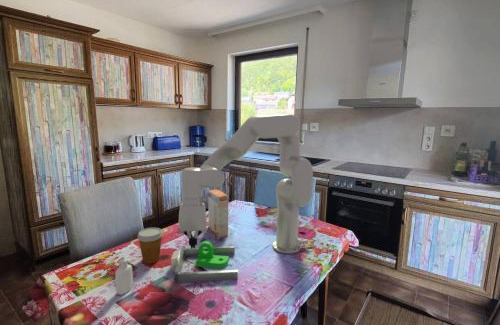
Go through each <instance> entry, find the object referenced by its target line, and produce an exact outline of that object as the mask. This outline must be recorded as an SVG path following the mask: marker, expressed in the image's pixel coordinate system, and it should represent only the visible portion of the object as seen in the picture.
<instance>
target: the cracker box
mask: <svg viewBox="0 0 500 325" xmlns="http://www.w3.org/2000/svg"><path fill="white" fill-rule="evenodd" d="M207 199H208V229H209V230H210V232H212V234H214V236H215V237H216V238H218V239H219V238H225V237H229V236H228V235H229V195H228V194H226V193H224V192H223V191H221V190H220V189H219V188H218V189H210V190H208V198H207Z"/></svg>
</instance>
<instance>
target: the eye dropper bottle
mask: <svg viewBox="0 0 500 325" xmlns="http://www.w3.org/2000/svg"><path fill="white" fill-rule="evenodd" d="M118 264H119V265H118V268H117V270H116V271H115V276H114V277H115V292H116V294H117V295H120V296H123V295H125V294H127V293H128V292H129V291H130V290H132V288H133V286H134V278H133V267H132V265H131V264H128V259H127V258H125V255H122V256H121V259H119V261H118Z"/></svg>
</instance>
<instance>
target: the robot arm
mask: <svg viewBox="0 0 500 325" xmlns="http://www.w3.org/2000/svg"><path fill="white" fill-rule="evenodd" d="M300 129H301V121H300V118H298V116H296V115H294V114H292V113H291V114H286V113H285V114H273V115H265V114H264V115H252V116H250V117H248V118H247V119H246V120H245V121H244V122H242V124H241V126H240V127H239V128H238V130H236V132H235V133H233V134H232V136H231V137H230V139H228V140H227V141H226V142H225V143H224V144H222V145H221V146H220V147H219V148H218V149H216V150H215V151H214V152H212V154H210V156H208V158H206V160H205V161H204V162H203V163H202V164H201V166H200V168H199V167H193V166H192V167H186V168H183V169H181V175H180V176H181V178H180V179H181V203H180V205H179V212H178V233H179V234H181V235H184V236H186V238H188V246H190V248H191V249H192V248H196V246H198V238H199V236H200V235H201V234H204V233H207V232H208V228H207V224H208V222H207V209H206V204H205V202H207V197H205V196H203V188H210V189H211V188H212V189H214V188H219V187H221V186H222V185H223V184H224V182H225V174H224V171H222V170H223V168H224V167H225V166H227V165H228V164H229V163H231V162H233V161H235V160H238V159H241V158H243V157H244V156H245V155H246V154H247V153H248V151H250V150H251V149H252V147H253V146H254V145H255V144H256V143H257V141H258V140H259V139H277V141H278V144H279V171H280V173H281V174H282V175H283V176H285V177H287V178H283V179H281V180H279V181H278V182H277V184H276V187H275V195H276V204H277V207H276V208H277V210H276V211H277V212H276V234H275V235H276V238H275V241H273V242H272V248H273V249H274V250H275V251H276V252H278V253H281V254H286V255H291V254H292V255H293V254H297V253H298V252H300V251H301V247H302V246H301V245H308V244H309V241H308V239H304V238H302V237H299V236H298V234H299V232H298V231H299V215H300V214H299V213H300V210H299V209H300V208H302V207H306V206H307V205H308V204H309V203H310V202H311V199H312V195H313V181H314V179H313V176H314V175H313V174H314V171H313V170H314V169H313V166H312V163H311V162H310V160H309V159H307V158H305V157H302V156H301V151H300V150H301V148H300V146H301V144H300V138H299V136H298V133H299V131H300ZM290 178H291V179H290ZM299 207H300V208H299ZM192 232H194V234H193V233H192Z"/></svg>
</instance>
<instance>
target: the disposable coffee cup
mask: <svg viewBox="0 0 500 325" xmlns="http://www.w3.org/2000/svg"><path fill="white" fill-rule="evenodd" d="M163 234H164V232H162V229H161V228H159V227H147V228H144V229H143V228H142V229H141V230H139V232H138V234H137V239H138V242H139V247H140V253H141V257H142V263H144V264H150V265H151V264H154V263H157V262H158V261H159V260H160V256H161V248H162V247H161V245H162V237H163Z"/></svg>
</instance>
